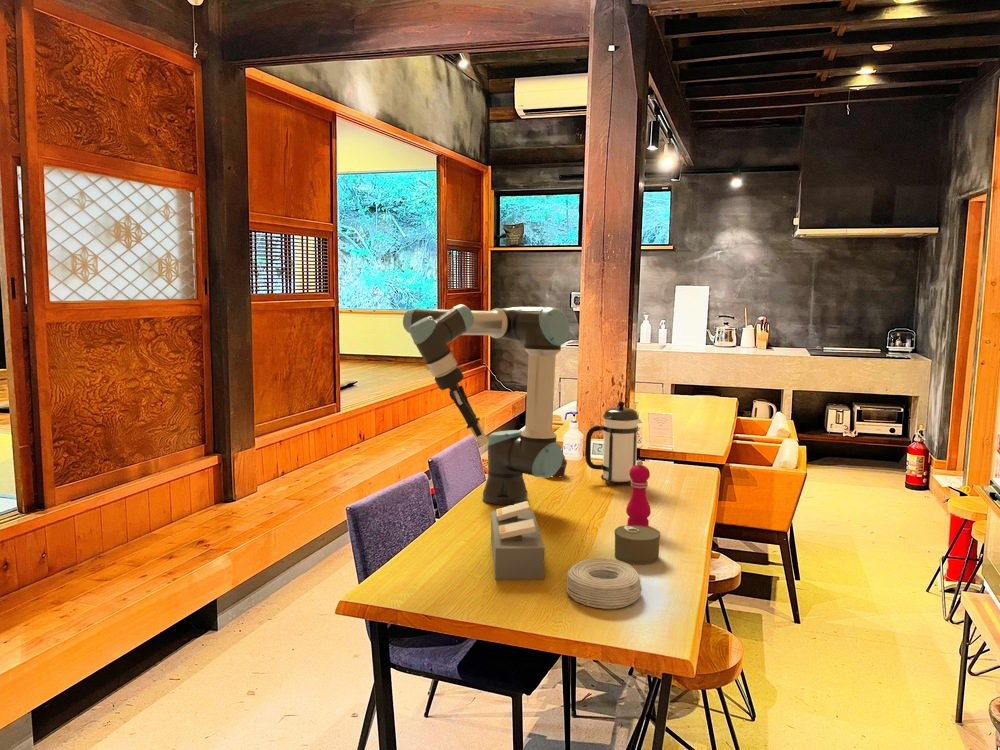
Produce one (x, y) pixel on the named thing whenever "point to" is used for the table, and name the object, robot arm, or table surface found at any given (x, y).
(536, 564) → the rocker switch box
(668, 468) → the table surface
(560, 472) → the cupcake
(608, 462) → the coffee press
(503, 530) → the rocker
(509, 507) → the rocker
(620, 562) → the cable
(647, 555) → the can
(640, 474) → the pepper mill
